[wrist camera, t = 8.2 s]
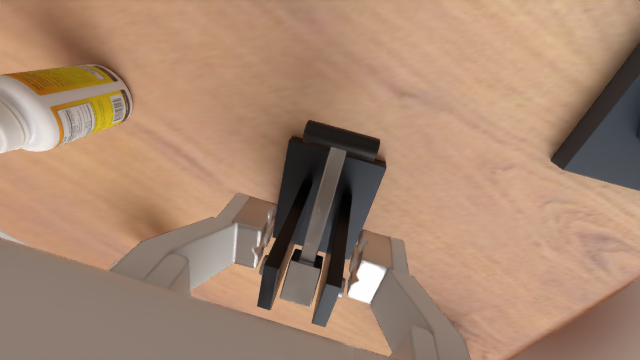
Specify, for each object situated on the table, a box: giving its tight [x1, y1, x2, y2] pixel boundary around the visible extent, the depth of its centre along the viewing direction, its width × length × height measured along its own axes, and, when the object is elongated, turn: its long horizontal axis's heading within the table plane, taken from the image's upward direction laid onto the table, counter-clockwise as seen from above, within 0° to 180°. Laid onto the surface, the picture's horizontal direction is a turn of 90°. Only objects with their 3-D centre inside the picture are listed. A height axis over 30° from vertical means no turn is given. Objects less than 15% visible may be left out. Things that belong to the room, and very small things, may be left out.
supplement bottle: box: [0, 64, 133, 154], centre depth 22 cm, size 6×6×10 cm
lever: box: [280, 120, 380, 307], centre depth 19 cm, size 12×5×2 cm, turn 167°
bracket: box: [257, 136, 386, 327], centre depth 23 cm, size 12×9×12 cm
